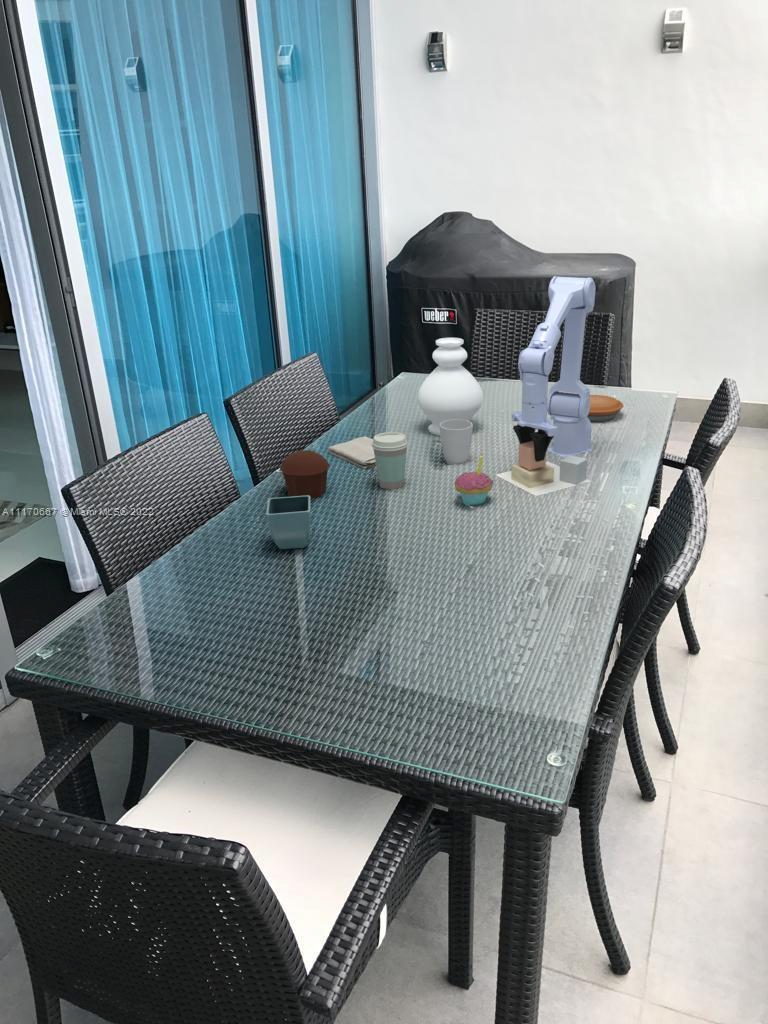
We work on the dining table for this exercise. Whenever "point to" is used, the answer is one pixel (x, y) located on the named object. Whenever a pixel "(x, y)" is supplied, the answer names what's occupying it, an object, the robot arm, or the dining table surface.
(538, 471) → the maple block
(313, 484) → the muffin
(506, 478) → the board
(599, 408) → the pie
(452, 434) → the cup
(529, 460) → the terracotta block
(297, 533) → the flower pot
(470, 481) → the cupcake
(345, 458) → the washcloth
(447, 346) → the decorative vase
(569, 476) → the grey block
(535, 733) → the dining table surface
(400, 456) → the coffee cup
